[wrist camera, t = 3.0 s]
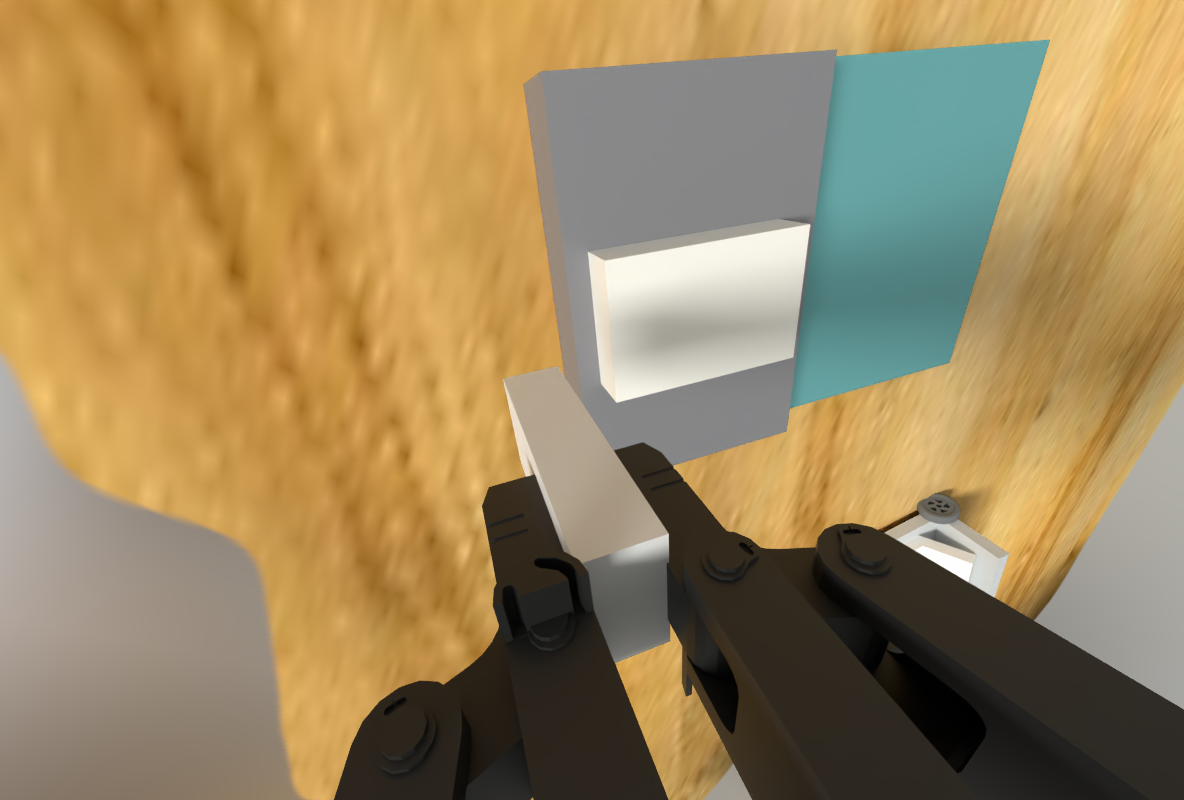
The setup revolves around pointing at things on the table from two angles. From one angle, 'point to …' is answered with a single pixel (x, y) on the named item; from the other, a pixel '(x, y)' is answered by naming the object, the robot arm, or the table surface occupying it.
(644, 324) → the tile
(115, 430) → the table surface
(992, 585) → the toy car
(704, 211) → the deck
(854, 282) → the mat
